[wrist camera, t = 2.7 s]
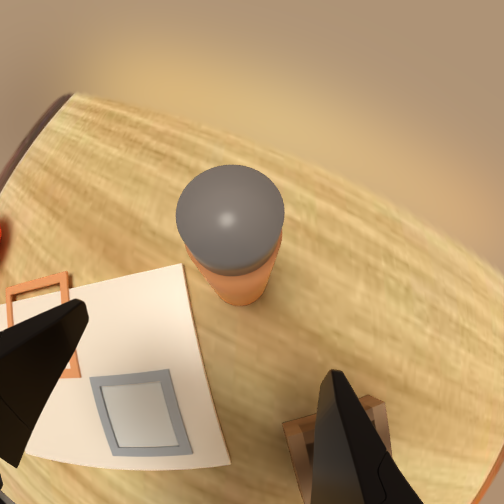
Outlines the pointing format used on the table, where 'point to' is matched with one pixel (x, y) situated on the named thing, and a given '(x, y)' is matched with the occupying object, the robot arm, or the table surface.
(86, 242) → the table surface
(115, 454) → the picture sheet
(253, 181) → the marker
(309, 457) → the button base
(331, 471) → the robot arm
